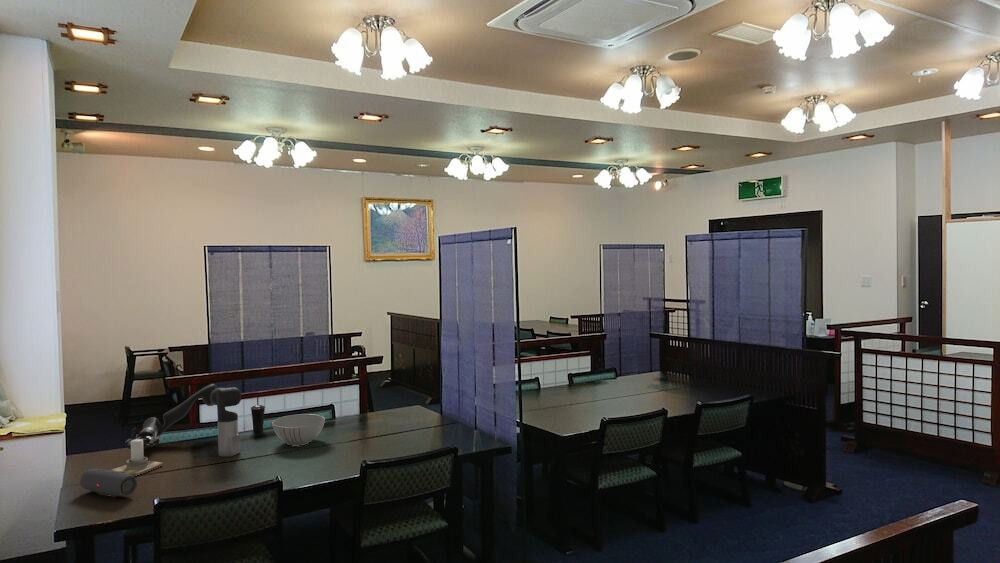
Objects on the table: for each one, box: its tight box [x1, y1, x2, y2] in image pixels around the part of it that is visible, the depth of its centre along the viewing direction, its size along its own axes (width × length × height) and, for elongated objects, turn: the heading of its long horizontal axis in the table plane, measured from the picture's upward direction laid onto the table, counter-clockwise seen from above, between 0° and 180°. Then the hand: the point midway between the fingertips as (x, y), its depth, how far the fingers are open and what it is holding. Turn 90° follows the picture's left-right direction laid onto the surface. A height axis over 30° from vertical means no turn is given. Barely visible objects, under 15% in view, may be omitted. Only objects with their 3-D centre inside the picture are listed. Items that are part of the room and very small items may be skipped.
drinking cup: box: [250, 395, 266, 433], centre depth 351 cm, size 8×8×20 cm
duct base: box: [110, 456, 164, 477], centre depth 289 cm, size 15×15×4 cm
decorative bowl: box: [271, 413, 326, 446], centre depth 330 cm, size 27×27×12 cm
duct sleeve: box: [130, 438, 145, 463], centre depth 289 cm, size 5×5×12 cm
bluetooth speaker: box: [79, 468, 138, 497], centre depth 259 cm, size 23×9×10 cm, turn 69°
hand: (139, 446), depth 294 cm, fingers open, 8 cm apart
